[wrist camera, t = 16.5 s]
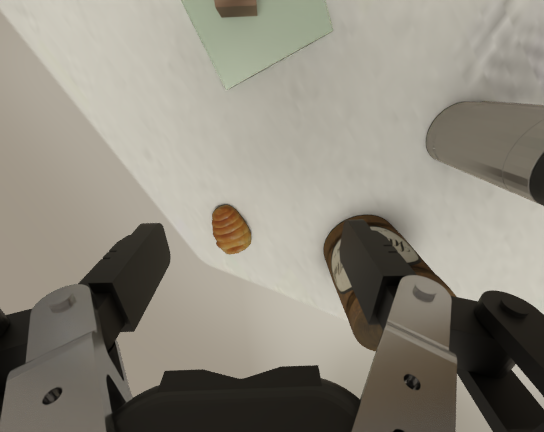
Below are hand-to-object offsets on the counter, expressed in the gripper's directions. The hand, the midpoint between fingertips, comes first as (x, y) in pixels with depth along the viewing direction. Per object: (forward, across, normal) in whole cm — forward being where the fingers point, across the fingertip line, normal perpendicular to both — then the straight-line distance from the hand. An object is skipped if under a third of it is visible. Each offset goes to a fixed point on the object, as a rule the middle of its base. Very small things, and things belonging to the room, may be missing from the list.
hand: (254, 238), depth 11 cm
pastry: (+31, +6, +18) cm, 36 cm away
